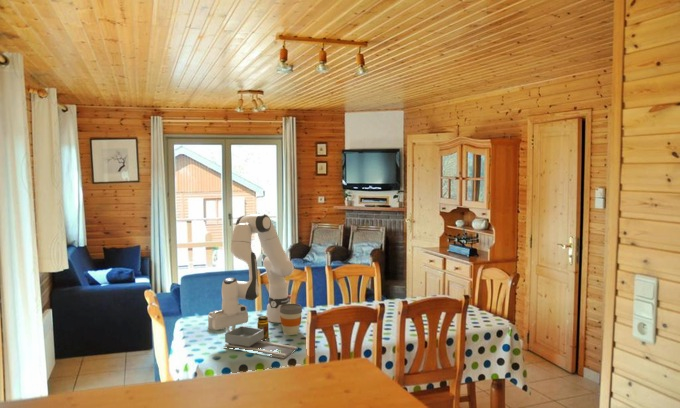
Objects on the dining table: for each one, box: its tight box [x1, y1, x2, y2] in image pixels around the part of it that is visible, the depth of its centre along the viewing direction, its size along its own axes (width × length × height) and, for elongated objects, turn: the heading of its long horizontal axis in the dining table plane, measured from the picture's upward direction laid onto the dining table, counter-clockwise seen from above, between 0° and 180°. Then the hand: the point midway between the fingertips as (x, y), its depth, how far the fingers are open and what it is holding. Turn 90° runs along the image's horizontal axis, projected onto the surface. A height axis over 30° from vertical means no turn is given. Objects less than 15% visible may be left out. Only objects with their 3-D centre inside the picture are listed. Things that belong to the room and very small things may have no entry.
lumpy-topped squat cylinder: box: [207, 309, 226, 331], centre depth 329 cm, size 10×13×9 cm
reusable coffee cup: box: [280, 303, 303, 336], centre depth 320 cm, size 13×13×15 cm
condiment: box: [257, 315, 272, 341], centre depth 310 cm, size 7×8×12 cm
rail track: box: [223, 340, 299, 360], centre depth 295 cm, size 16×36×2 cm, turn 66°
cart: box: [224, 325, 264, 347], centre depth 298 cm, size 15×15×6 cm
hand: (230, 333), depth 302 cm, fingers closed
